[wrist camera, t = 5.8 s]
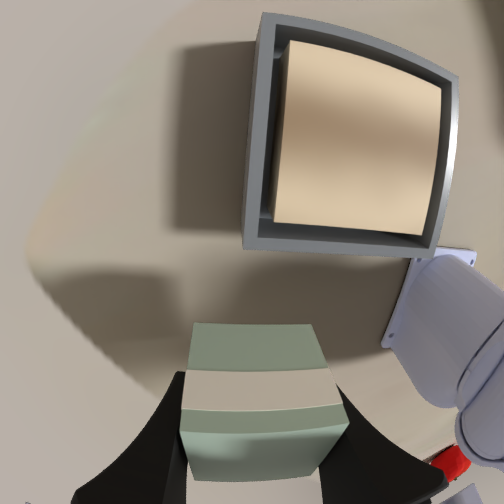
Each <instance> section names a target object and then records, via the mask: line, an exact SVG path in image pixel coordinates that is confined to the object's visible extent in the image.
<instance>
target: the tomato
mask: <svg viewBox="0 0 504 504" xmlns="http://www.w3.org/2000/svg"><path fill="white" fill-rule="evenodd" d="M430 465H432V466H434V467H437V468H439V469H442V470H443V471H444V473H445V475H446V478H447V480H448V482H451V481H453V480H457V477H459V476H460V475H461V474H462V473H463V472H465V471H466V470H467V469H468V468H469V466H470V465H471V461H470V460H469V459H468V458H467V457H466V456H465V455H464V454H463V453H462V451H461V450H460V448H459V446H458V445H456V446H453V447H451V448H449V449H447V450H445V451H444V452H442V453H441V454H440V455H438V456H437V457H436V458H434V460H433V461H432V462H431V464H430Z"/></svg>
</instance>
